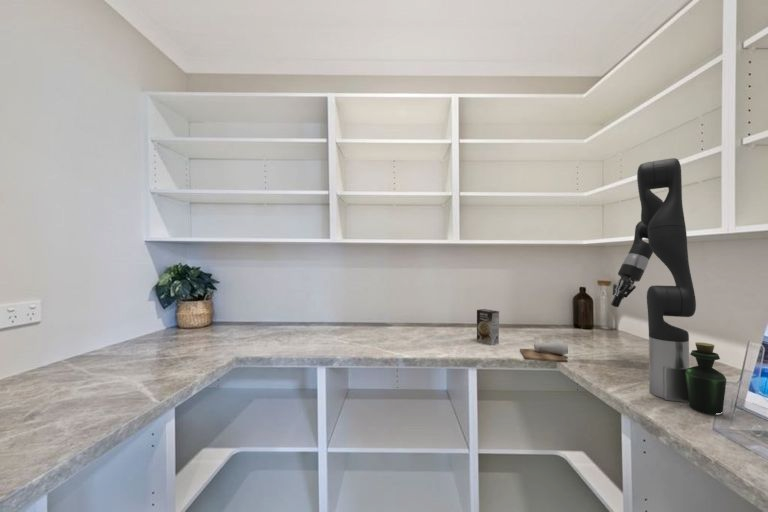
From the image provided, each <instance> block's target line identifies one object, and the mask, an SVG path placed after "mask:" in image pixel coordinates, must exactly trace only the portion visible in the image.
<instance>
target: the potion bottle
mask: <svg viewBox="0 0 768 512" xmlns="http://www.w3.org/2000/svg"><path fill="white" fill-rule="evenodd" d="M695 348H696V349H694V350H691V352H690V353H689V356H692V357H693V358H695V360H696V364H697V365H695V366H694V365H693V366H692V367H691V366H690V367H689V368H688V369H687V370H686V371H685V374H686V382H687V390H688V398H689V402H688V406H689V407H690V408H691V409H692V410H694V411H696V412H698V413H702V414H705V415H710V416H716V415H715V414H716V413H721V412H723V413H724V406H725V405H724V404H725V395H726V385H727V378H726V376H725V374H724V373H722V372H720V371H719V370H716V368H713V367H714V364H715V361H718V360H721V358H720V355H719V353H718V352H717V353H716V352H714V350H715V344H712V343H708V342H695Z"/></svg>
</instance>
